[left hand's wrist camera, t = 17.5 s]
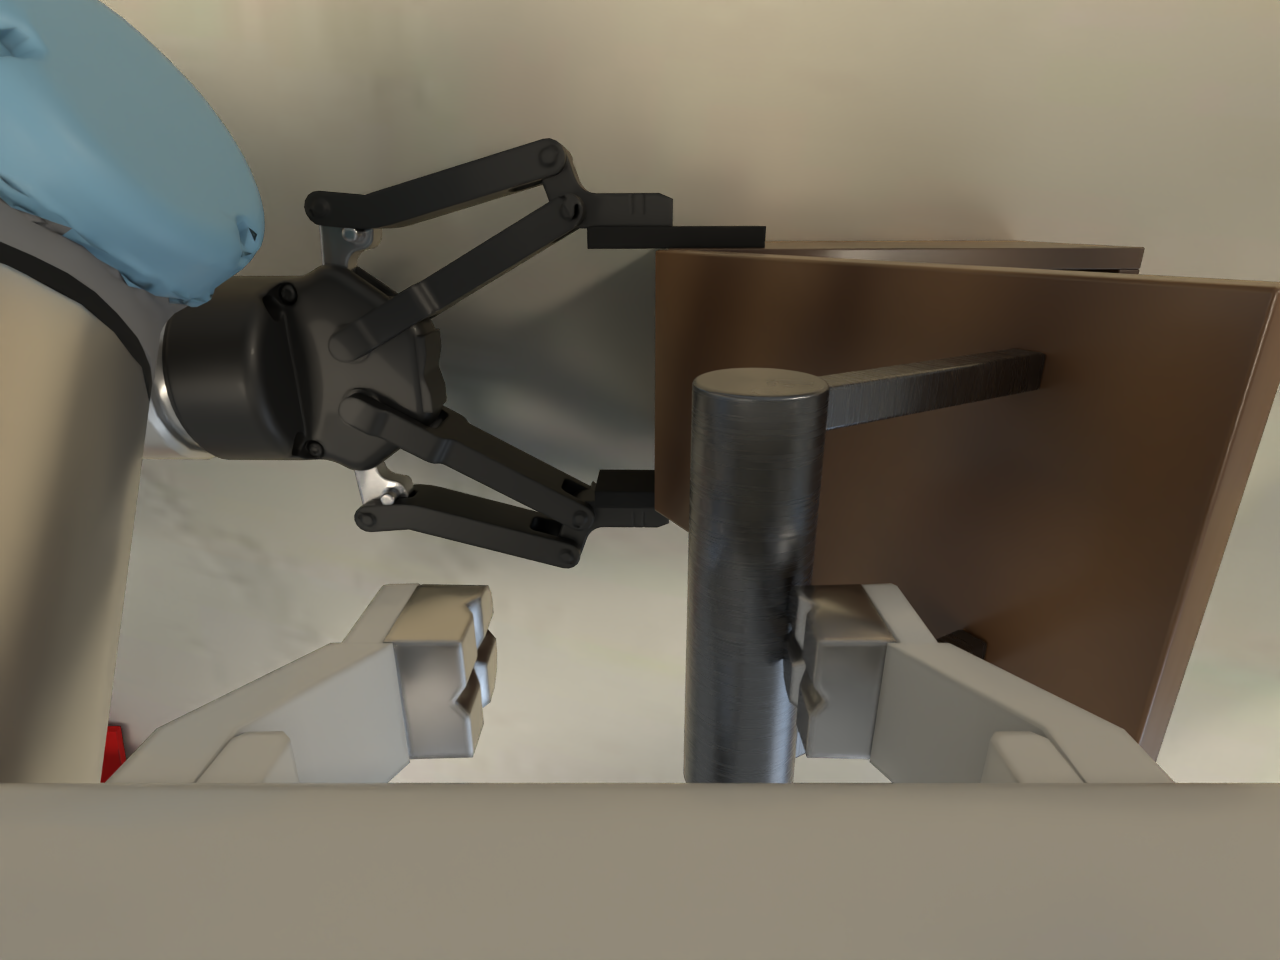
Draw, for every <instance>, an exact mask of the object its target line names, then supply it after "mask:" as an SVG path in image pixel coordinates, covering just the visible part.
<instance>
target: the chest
mask: <svg viewBox="0 0 1280 960" xmlns="http://www.w3.org/2000/svg"><path fill="white" fill-rule="evenodd" d="M666 250H700V251H718V252H736V253H755V254H773V255H792V256H810V257H828V258H847V259H865V260H883V261H902V262H920V263H938V264H957V265H975V266H994V267H1012V268H1030V269H1049V270H1067V271H1085V272H1104V273H1122V274H1139V270H1138V269H1139V268H1140V265H1141V261H1142V257H1143V253H1144V248H1143V247H1127V246H1107V245H1088V244H1069V243H1050V242H1030V241H765V248H666Z"/></svg>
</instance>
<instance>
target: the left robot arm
mask: <svg viewBox="0 0 1280 960" xmlns="http://www.w3.org/2000/svg"><path fill="white" fill-rule="evenodd" d="M493 613H494V611H493V602H492V593H491V591H490V588H489V586H488V585H439V584H422V585H420V584H419V583H416V584H388V585H383V586H382V587H381V589H380V590H379V591H378V593H377V594H376V596H375V597H374V598H373V600H372V601H371V602H370V604H369V605H368V607H367V608H366V609H365V611H364V612H363V614H362V615H361V616H360V618H359V619H358V621H357V622H356V623H355V625H354V626H353V628H352V629H351V630H350V632H349V633H348V635H347V636H346V637H345V639H344V640H343V641H342V643H330V644H328V645H326V646H324V647H322V648H319V649H317V650H315V651H313V652H311V653H309V654H307V655H305V656H303V657H301V658H299V659H297V660H295V661H293V662H291V663H289V664H287V665H285V666H283V667H281V668H279V669H277V670H275V671H273V672H271V673H269V674H267V675H265V676H263V677H261V678H259V679H256V680H254V681H252V682H250V683H248V684H246V685H244V686H242V687H240V688H238V689H236V690H234V691H232V692H230V693H228V694H226V695H224V696H222V697H220V698H218V699H216V700H214V701H212V702H210V703H208V704H206V705H204V706H202V707H200V708H198V709H196V710H193V711H191V712H189V713H187V714H185V715H183V716H181V717H179V718H177V719H175V720H173V721H171V722H169V723H167V724H165V725H163V726H161V727H159V728H157V729H156V730H155V731H154V732H153V733H152V734H151V735H150V736H149V737H148V738H147V739H146V740H145V741H144V742H143V743H142V744H141V745H140V747H139V748H138V749H137V750H136V751H135V752H134V753H133V754H132V755H131V756H130V757H129V758H128V759H127V760H126V761H125V762H124V763H123V764H122V765H121V766H120V767H119V768H118V769H117V771H116V772H115V773H114V774H113V775H112V776H111V777H110V778H109V779H108V780H107V781H106V782H105V783H0V960H1280V783H1175V782H1174V781H1173V780H1172V779H1171V778H1170V777H1169V776H1168V775H1167V774H1166V773H1165V772H1164V771H1163V770H1162V768H1161V767H1160V766H1159V765H1158V764H1157V763H1156V762H1155V761H1154V760H1153V759H1152V758H1151V757H1150V756H1149V755H1148V754H1147V753H1146V752H1145V751H1144V750H1143V749H1142V747H1141V746H1140V745H1139V744H1138V743H1137V742H1136V741H1135V740H1134V739H1133V738H1132V737H1131V736H1130V735H1129V734H1128V733H1127V732H1126V731H1125V730H1124V729H1122V728H1120V727H1118V726H1116V725H1114V724H1112V723H1110V722H1108V721H1106V720H1104V719H1102V718H1100V717H1098V716H1096V715H1094V714H1092V713H1090V712H1088V711H1086V710H1084V709H1082V708H1080V707H1078V706H1076V705H1074V704H1072V703H1070V702H1068V701H1066V700H1064V699H1062V698H1059V697H1057V696H1055V695H1053V694H1051V693H1049V692H1047V691H1045V690H1043V689H1041V688H1039V687H1037V686H1035V685H1033V684H1031V683H1029V682H1027V681H1025V680H1023V679H1021V678H1019V677H1017V676H1015V675H1013V674H1011V673H1009V672H1007V671H1005V670H1003V669H1001V668H999V667H997V666H995V665H993V664H991V663H989V662H987V661H985V660H983V659H981V658H979V657H976V656H974V655H972V654H970V653H968V652H966V651H964V650H962V649H960V648H958V647H956V646H954V645H952V644H950V643H938V642H937V640H936V639H935V638H934V636H933V635H932V634H931V632H930V631H929V629H928V628H927V627H926V625H925V624H924V622H923V621H922V620H921V618H920V617H919V616H918V614H917V613H916V611H915V610H914V609H913V607H912V606H911V605H910V603H909V602H908V600H907V599H906V598H905V596H904V595H903V593H902V592H901V591H900V589H899V588H898V587H897V586H896V585H894V584H892V583H887V584H864V585H861V584H843V585H802V586H792V587H790V590H789V594H788V601H787V612H786V613H787V616H788V619H789V622H790V624H791V627H792V630H791V631H790V632H789V633H788V635H787V636H786V637H785V639H784V649H783V675H784V682H785V688H786V692H787V695H788V699H789V702H790V703H791V704H793V705H794V706H795V707H797V719H796V725H797V728H798V731H799V734H800V737H801V740H802V743H803V746H804V750H805V753H806V756H807V757H811V758H847V759H870V763H872V764H873V765H874V766H875V767H876V768H877V769H878V770H879V771H880V772H881V773H883V774H884V775H885V776H886V777H887V778H888V779H889V780H890V781H891V782H892V783H388V782H389V781H390V780H391V779H392V778H393V777H394V776H395V775H397V774H398V773H399V772H400V771H401V770H402V769H403V768H404V767H405V766H406V765H408V764H409V763H410V759H432V758H467V757H473V755H474V752H475V749H476V746H477V743H478V740H479V737H480V734H481V730H482V727H483V724H484V721H483V709H482V708H483V707H484V706H486V705H487V704H488V703H490V702H491V698H492V695H493V691H494V687H495V680H496V672H497V647H496V638H495V637H494V636H493V635H492V634H491V632H490V631H489V630H488V627H489V624H490V621H491V618H492V616H493Z"/></svg>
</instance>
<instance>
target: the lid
mask: <svg viewBox="0 0 1280 960" xmlns="http://www.w3.org/2000/svg"><path fill="white" fill-rule="evenodd" d="M1279 382H1280V282H1269V281H1251V280H1232V279H1214V278H1196V277H1177V276H1159V275H1140V274H1122V273H1104V272H1085V271H1067V270H1049V269H1030V268H1012V267H994V266H975V265H957V264H938V263H920V262H902V261H883V260H865V259H847V258H828V257H810V256H792V255H773V254H755V253H736V252H718V251H700V250H658V251H656V253H655V511H657V512H659V513H660V514H662V515H663V516H665V517H666V518H668V519H669V520H671V521H672V522H674V523H675V524H677V525H678V526H680V527H681V528H683V529H684V530H686V531H687V532H689V551H688V595H687V640H686V684H685V728H684V778H685V781H686V783H793V777H794V766H795V758H797V757H799V756H801V755H803V754H805V750H804V746H803V743H802V740H801V737H800V734H799V731H798V728H797V725H796V719H797V707H795V706H794V705H793V704H791V703H790V702H789V699H788V695H787V692H786V688H785V682H784V675H783V649H784V639H785V637H786V636H787V635H788V633H789V632H790V631H791V630H792V627H791V624H790V622H789V619H788V616H787V613H786V612H787V601H788V594H789V590H790V587H792V586H802V585H843V584H861V585H864V584H887V583H892V584H894V585H896V586H897V587H898V588H899V589H900V591H901V592H902V593H903V595H904V596H905V598H906V599H907V600H908V602H909V603H910V605H911V606H912V607H913V609H914V610H915V611H916V613H917V614H918V616H919V617H920V618H921V620H922V621H923V622H924V624H925V625H926V627H927V628H928V629H929V631H930V632H931V634H932V635H933V636H934V638H935V639H936V640H937V642H938V643H950V644H952V645H954V646H956V647H958V648H960V649H962V650H964V651H966V652H968V653H970V654H972V655H974V656H976V657H979V658H981V659H983V660H985V661H987V662H989V663H991V664H993V665H995V666H997V667H999V668H1001V669H1003V670H1005V671H1007V672H1009V673H1011V674H1013V675H1015V676H1017V677H1019V678H1021V679H1023V680H1025V681H1027V682H1029V683H1031V684H1033V685H1035V686H1037V687H1039V688H1041V689H1043V690H1045V691H1047V692H1049V693H1051V694H1053V695H1055V696H1057V697H1059V698H1062V699H1064V700H1066V701H1068V702H1070V703H1072V704H1074V705H1076V706H1078V707H1080V708H1082V709H1084V710H1086V711H1088V712H1090V713H1092V714H1094V715H1096V716H1098V717H1100V718H1102V719H1104V720H1106V721H1108V722H1110V723H1112V724H1114V725H1116V726H1118V727H1120V728H1122V729H1124V730H1125V731H1126V732H1127V733H1128V734H1129V735H1130V736H1131V737H1132V738H1133V739H1134V740H1135V741H1136V742H1137V743H1138V744H1139V745H1140V746H1141V747H1142V749H1143V750H1144V751H1145V752H1146V753H1147V754H1148V755H1149V756H1150V757H1151V758H1152V759H1153V760H1154V761H1155V762H1156V760H1157V757H1158V754H1159V751H1160V748H1161V745H1162V742H1163V739H1164V736H1165V733H1166V729H1167V726H1168V723H1169V720H1170V717H1171V714H1172V711H1173V708H1174V705H1175V702H1176V699H1177V696H1178V693H1179V690H1180V686H1181V683H1182V680H1183V677H1184V674H1185V671H1186V668H1187V665H1188V662H1189V659H1190V656H1191V653H1192V650H1193V646H1194V643H1195V640H1196V637H1197V634H1198V631H1199V628H1200V625H1201V622H1202V619H1203V616H1204V613H1205V610H1206V607H1207V603H1208V600H1209V597H1210V594H1211V591H1212V588H1213V585H1214V582H1215V579H1216V576H1217V573H1218V570H1219V567H1220V563H1221V560H1222V557H1223V554H1224V551H1225V548H1226V545H1227V542H1228V539H1229V536H1230V533H1231V530H1232V527H1233V523H1234V520H1235V517H1236V514H1237V511H1238V508H1239V505H1240V502H1241V499H1242V496H1243V493H1244V490H1245V487H1246V484H1247V480H1248V477H1249V474H1250V471H1251V468H1252V465H1253V462H1254V459H1255V456H1256V453H1257V450H1258V447H1259V444H1260V440H1261V437H1262V434H1263V431H1264V428H1265V425H1266V422H1267V419H1268V416H1269V413H1270V410H1271V407H1272V404H1273V401H1274V397H1275V394H1276V391H1277V388H1278V385H1279Z"/></svg>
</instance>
